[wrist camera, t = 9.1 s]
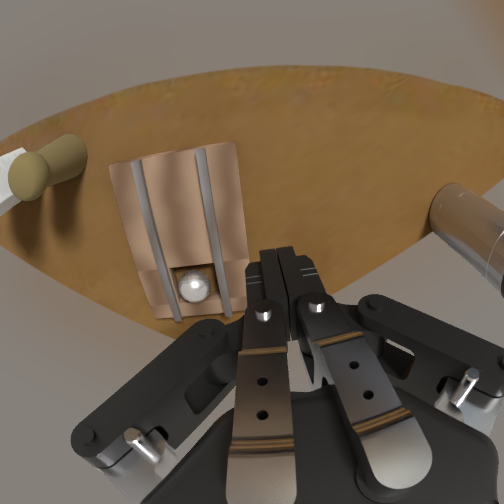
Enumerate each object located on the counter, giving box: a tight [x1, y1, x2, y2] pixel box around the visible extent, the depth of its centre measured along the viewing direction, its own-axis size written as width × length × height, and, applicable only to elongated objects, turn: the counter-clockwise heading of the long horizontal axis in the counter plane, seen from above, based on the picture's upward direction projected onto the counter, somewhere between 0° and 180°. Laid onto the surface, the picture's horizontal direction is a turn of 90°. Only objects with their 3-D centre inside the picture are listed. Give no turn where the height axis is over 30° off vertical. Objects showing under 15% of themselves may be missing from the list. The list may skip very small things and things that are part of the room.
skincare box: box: [0, 148, 26, 216], centre depth 25 cm, size 6×4×12 cm
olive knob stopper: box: [8, 134, 88, 202], centre depth 25 cm, size 6×6×11 cm
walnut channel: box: [108, 141, 249, 322], centre depth 36 cm, size 15×23×3 cm, turn 6°
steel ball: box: [178, 270, 211, 303], centre depth 38 cm, size 4×4×4 cm
